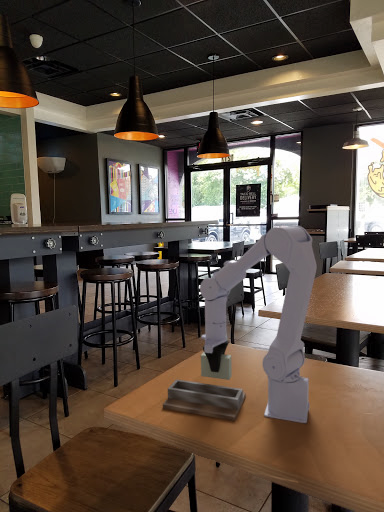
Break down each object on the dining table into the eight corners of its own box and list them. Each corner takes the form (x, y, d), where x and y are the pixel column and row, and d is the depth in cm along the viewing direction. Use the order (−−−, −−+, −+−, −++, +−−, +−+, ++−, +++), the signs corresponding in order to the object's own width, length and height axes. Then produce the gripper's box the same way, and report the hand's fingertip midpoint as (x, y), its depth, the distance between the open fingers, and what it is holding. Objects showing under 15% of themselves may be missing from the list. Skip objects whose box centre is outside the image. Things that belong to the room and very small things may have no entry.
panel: (231, 376, 102) (231, 355, 101) (229, 380, 100) (229, 358, 99) (204, 372, 105) (203, 352, 104) (201, 376, 102) (200, 355, 102)
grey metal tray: (245, 396, 96) (245, 383, 95) (234, 421, 84) (234, 406, 84) (180, 386, 102) (180, 374, 101) (162, 408, 91) (162, 394, 90)
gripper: (209, 313, 108) (210, 357, 110) (192, 327, 95) (193, 378, 96) (233, 314, 106) (233, 360, 108) (219, 329, 93) (220, 381, 94)
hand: (216, 369), depth 102 cm, fingers closed on panel, 2 cm apart
